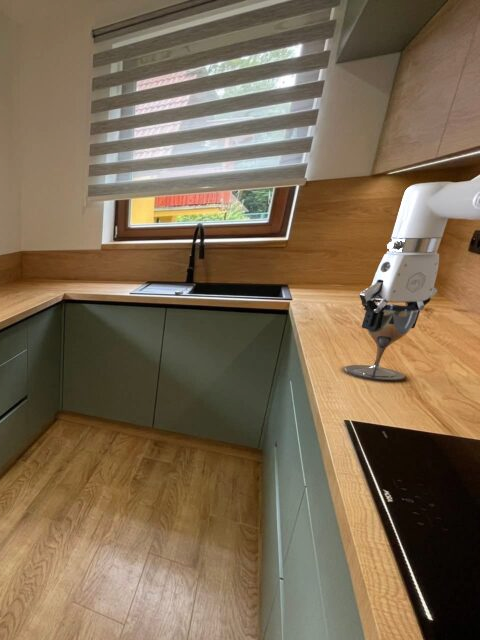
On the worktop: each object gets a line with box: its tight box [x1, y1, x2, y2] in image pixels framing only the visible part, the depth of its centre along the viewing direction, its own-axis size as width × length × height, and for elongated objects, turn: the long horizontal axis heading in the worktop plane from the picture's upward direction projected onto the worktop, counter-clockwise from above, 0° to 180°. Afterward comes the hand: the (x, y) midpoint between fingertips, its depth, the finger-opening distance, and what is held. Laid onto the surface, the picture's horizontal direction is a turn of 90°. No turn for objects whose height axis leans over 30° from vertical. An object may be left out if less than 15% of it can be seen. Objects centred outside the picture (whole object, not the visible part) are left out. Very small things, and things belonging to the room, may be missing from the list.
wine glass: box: [354, 304, 420, 377], centre depth 97 cm, size 8×8×15 cm
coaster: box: [343, 364, 405, 383], centre depth 100 cm, size 10×10×1 cm
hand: (387, 327), depth 96 cm, fingers closed on wine glass, 8 cm apart
